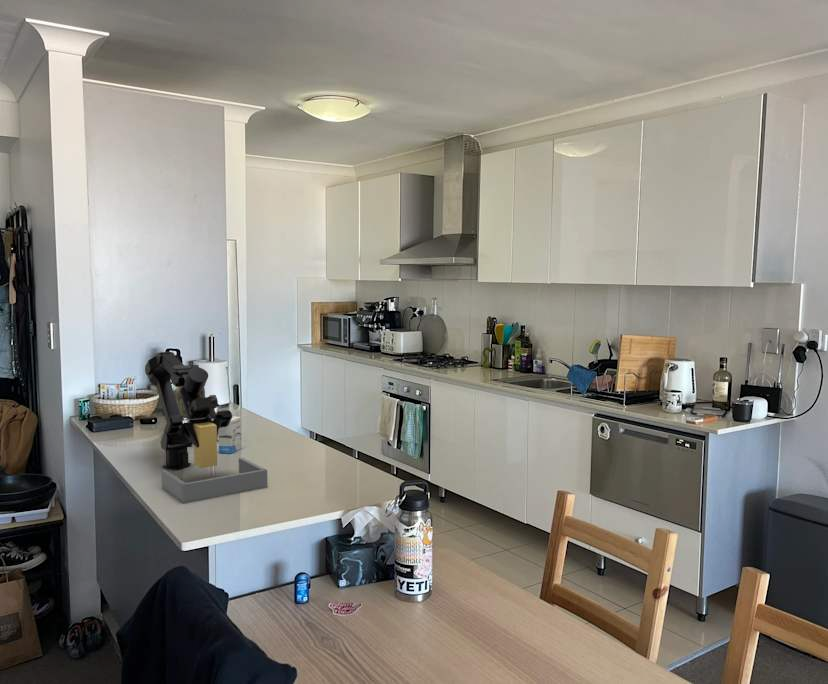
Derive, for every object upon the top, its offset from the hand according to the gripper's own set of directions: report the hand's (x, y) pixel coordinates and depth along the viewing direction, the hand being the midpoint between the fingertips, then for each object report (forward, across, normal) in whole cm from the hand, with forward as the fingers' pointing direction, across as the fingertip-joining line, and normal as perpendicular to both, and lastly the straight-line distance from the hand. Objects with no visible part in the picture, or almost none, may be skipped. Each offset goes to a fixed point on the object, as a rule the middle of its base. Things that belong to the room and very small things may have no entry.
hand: (207, 445), depth 202 cm
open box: (+12, 0, +5) cm, 13 cm away
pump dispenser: (-29, +20, +48) cm, 60 cm away
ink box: (-17, +22, +35) cm, 45 cm away
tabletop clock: (-47, +23, +66) cm, 84 cm away
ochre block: (+3, 0, +5) cm, 6 cm away
